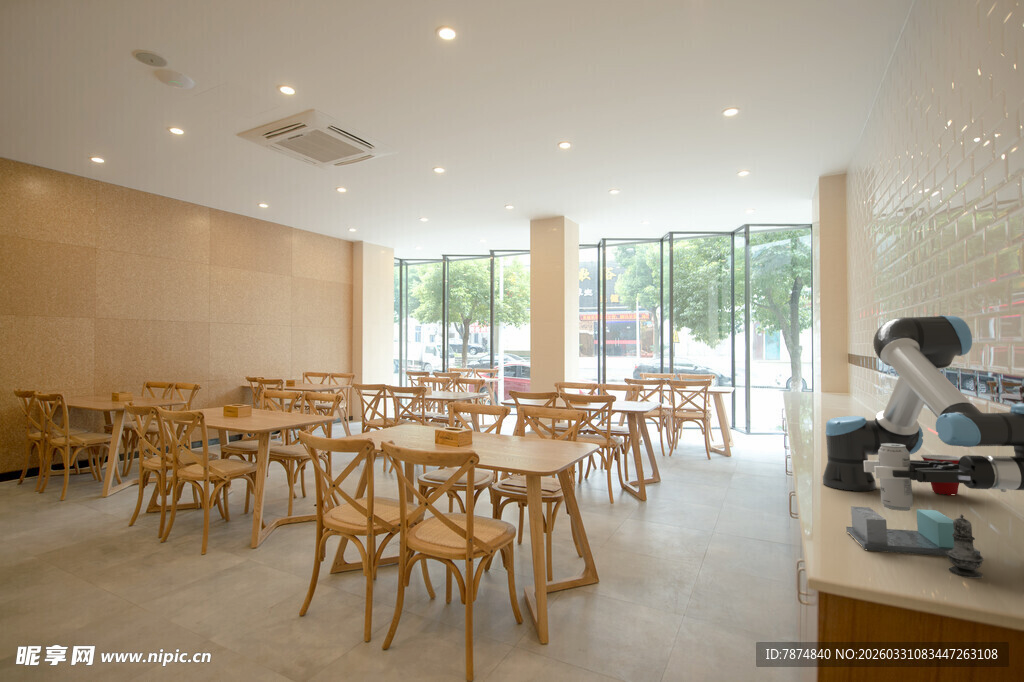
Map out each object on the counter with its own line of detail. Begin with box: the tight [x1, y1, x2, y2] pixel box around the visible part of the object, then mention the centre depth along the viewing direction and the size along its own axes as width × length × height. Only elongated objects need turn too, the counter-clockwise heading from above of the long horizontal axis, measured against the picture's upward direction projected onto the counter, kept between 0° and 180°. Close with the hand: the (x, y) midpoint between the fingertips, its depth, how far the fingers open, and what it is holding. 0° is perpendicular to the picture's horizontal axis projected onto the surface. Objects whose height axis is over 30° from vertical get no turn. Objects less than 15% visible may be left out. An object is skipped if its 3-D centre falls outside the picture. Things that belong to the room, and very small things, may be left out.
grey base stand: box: [845, 505, 981, 557], centre depth 119 cm, size 12×22×7 cm, turn 73°
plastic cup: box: [920, 454, 962, 496], centre depth 159 cm, size 11×11×12 cm
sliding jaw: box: [916, 508, 955, 548], centre depth 117 cm, size 10×4×6 cm, turn 163°
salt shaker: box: [946, 513, 985, 579], centre depth 103 cm, size 6×6×12 cm
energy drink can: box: [877, 443, 914, 512], centre depth 119 cm, size 6×6×15 cm
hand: (869, 469), depth 121 cm, fingers closed on energy drink can, 6 cm apart
